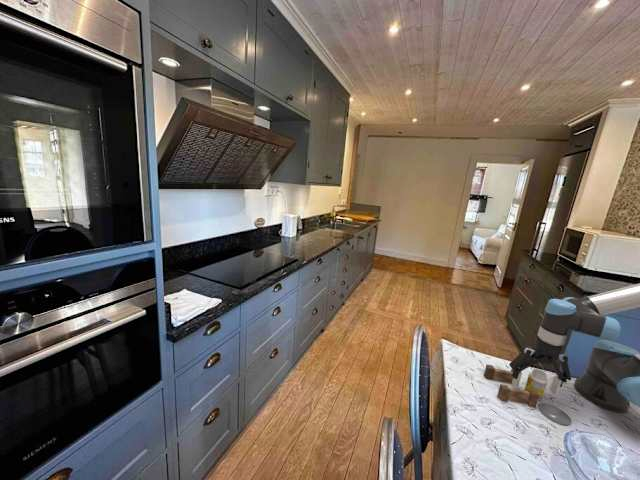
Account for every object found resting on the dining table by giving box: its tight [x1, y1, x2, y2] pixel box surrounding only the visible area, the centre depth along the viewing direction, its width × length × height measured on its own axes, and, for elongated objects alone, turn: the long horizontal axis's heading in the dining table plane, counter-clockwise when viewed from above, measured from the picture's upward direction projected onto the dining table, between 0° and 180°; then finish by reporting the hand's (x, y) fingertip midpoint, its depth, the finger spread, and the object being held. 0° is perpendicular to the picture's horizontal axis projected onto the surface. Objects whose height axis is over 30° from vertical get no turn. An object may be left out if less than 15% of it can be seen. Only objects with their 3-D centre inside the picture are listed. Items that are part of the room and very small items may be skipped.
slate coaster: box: [537, 402, 573, 427], centre depth 93 cm, size 9×9×1 cm
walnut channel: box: [483, 363, 540, 409], centre depth 102 cm, size 12×14×5 cm
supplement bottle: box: [524, 368, 548, 401], centre depth 101 cm, size 6×6×10 cm
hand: (533, 389), depth 101 cm, fingers open, 13 cm apart
